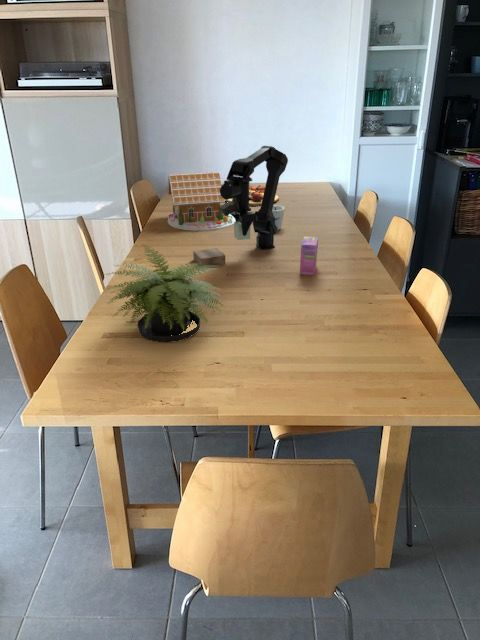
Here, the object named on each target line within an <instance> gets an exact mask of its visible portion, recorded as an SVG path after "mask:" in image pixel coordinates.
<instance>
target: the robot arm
mask: <svg viewBox="0 0 480 640" xmlns="http://www.w3.org/2000/svg"><path fill="white" fill-rule="evenodd" d="M264 162H265V163H266V164H265V168H266V171H267V178H266V182H265V186H264V187H265V190H264V195H263V199H262V204H261V206H260V208H259V209H258V211H257V210H256V211H252V208H251V206H249V201H251V198H250V197H249V185H250V182H252V181H253V179H252V177H250V176H251V175H252V174H254V172H255V169H256V167H258V166H260V165H261V164H262V163H264ZM288 162H289V159H288V156H287V155H286V154H285V153H284V152H282V151H280V150H278V149H276V148H275V147H274V146H271V145H262V146H261V148H260V149H257V150H256V151H255V152H253V153H252V154H250V155H248V156H247V157H245V158H244V157H243V158H238V159H235V160H233V162H232V163H231V166H230V168H229V171H228V174H227V177H226V180H223V183H222V186H221V188H220V194H221V196H222V198H224V199H226V200H228V199H231V198H232V201H230V202H228V203H227V202H225V203H222V205H221V204H220V205H221V206H220V209H221V211H222V214H224V216H228V215H229V214H231V215H232V216H233V217H234V218H235V221H236V222H238V221H239V222H240V223H241V227H242V233H243V236H246V234H247V232H248V230H249V228H250V229H251V226H253V230H254V231H253V232H254V233H257V235H256V241H255V242H256V243H255V246H257V247H258V248H259V249H260V250H266V249H267V250H268V249H274V248H276V245H274V241H275V240H274V239H275V235H276V234H278V230H277V229H278V228H277V226H276V225H275V224H274V215H273V212H272V209H273V205H274V204H275V203H274V200H275V195H277V191H278V185H279V181H280V177H281V176H282V174H283V173H284V172H285V170H286V168H287V165H288Z"/></svg>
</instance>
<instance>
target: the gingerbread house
mask: <svg viewBox="0 0 480 640" xmlns="http://www.w3.org/2000/svg"><path fill="white" fill-rule="evenodd" d="M222 185H223V181H222V176H221V172H220V171H214V172H213V171H211V172H209V171H208V172H207V171H206V172H199V173H198V172H194V173H193V172H191V173H175V174H172V173H171V174H168V175H167V189H166V190H167V191H166V192H167V193H166V194H167V195H168V196H171V198H172V199H171V201H172V214H168V216H167V224H168V225H169V226H171V227H172V228H175V229H178V230H179V229H180V230H186V231H197V232H198V231H203V232H204V231H214V230H220V229H224V228H225V227H226V228H229V227H231V226H233V225H234V222H236V221H235V218H234V217H233V216H232V215H231V214H229V215H228V216H224V214H222V211H221V209H220V206H221V204H224V203H226V202H225V200H226V199H224V198H222V196H221V194H220V188H221V186H222ZM232 224H233V225H232ZM230 225H231V226H230ZM228 226H229V227H228Z"/></svg>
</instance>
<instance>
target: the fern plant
mask: <svg viewBox="0 0 480 640" xmlns="http://www.w3.org/2000/svg"><path fill="white" fill-rule="evenodd" d="M142 247H144V256H146V257H147V258H146V260H147V262H148V263H152V264H154V265H151V264H150V266H151V267H152V268H155V269H153V270H152V269H150V268H147V267H146V266H144V265H141V264H137V263H134V264H133V263H131V262H130V263H125V264H124V263H122V264H117V265H115V264H114V265H113V266H114V267H123V268H127V269H129V270H126V269H125V270H122V271H120V270H118V271H117V272H116V271H114V272H113V271H111V273H110V272H109V273H104V274H103V275H107V276H108V275H111V274H114V275H119V276H122V275H124V277H126V276H130V275H131V277H132V278H134V277H137V279H136V280H135V279H134V280H130V281H129V282H128V281H124V283H120V284H114V285H113V288H114V289H115V288H116V289H117V288H118V289H117V290H114V291H111V292H110V293H115V292H118V293H116V294H115V296H113V297H112V298H110V299H109V301H107V304H112V302H116V300H120V299H125V297H126V299H127V298H129V299H128V300H129V301H125V302H124V303H125V304H123V305H121V306H120V307H121V308H119V309H117V312H115V313H114V315H112V316H111V317H112V318H113V317H115V316H118V313H121V312H124V311H125V312H124V315H123V316H122V317H123V318H124V317H125V316H128V314H130V311H133V312H132V316H130V319H131V320H130V323H129V325H128V326H131V324H134V322H136V320H137V318H139V317H140V316H142V315H143V314H144V315H143V316H142V317H141V318H139V320H138V322H137V329H138V333H139V334H141V335H140V336H141V337H142V336H143V337H142V338H144V339H146V340H147V339H148V341H151V340H152V342H155V341H158V342H157V343H173V342H172V341H176V342H180V341H179V340H181V341H183V340H182V339H184V340H186V339H185V338H187V339H189V338H188V337H190V336H191V335H193V334H195V333H196V332H197V331H198V330H199V331H200V329H199V328H200V327H201V321H202V320H204V321H205V322H206V323H208V318H207V317H206V316H205V314H204V312H203V311H202V308H201V306H203V305H204V306H205V307H206V308H209V309H211V310H214V311H215V310H217V311H219V312H220V313H222V311H221V309H220V308H218V306H217V305H220V306H222V307H225V305H224V304H222V303H225V304H227V303H226V302H225V300H224V299H221V298H219V297H217V296H220V297H221V295H220V294H219V293H218V292H216V291H214V290H216V289H217V290H220V291H222V289H221V288H219V287H217V286H214V285H213V283H211V284H210V283H208V282H206V281H203V280H199V279H198V280H197V279H196V278H194V277H196V276H198V275H202V274H203V273H206V272H209V271H213V270H217V268H215V267H217V266H215V265H214V266H210V265H209V266H210V267H208V266H207V267H206V265H205V266H204V265H203V266H201V265H200V266H201V267H200V266H199V265H198V264H197V263H196V262H195V263H188V264H187V263H185V264H184V265H183V264H181V265H180V266H178V267H176V266H175V267H173V266H170V264H167V263H168V260H166V261H165V259H166V258H165V255H163V254H162V253H159V250H155V249H154V248H151V247H150V246H147V245H145V244H144V243H143V245H142ZM145 253H146V254H145ZM162 256H163V257H162ZM166 264H167V265H166ZM140 271H141V272H140ZM193 278H194V279H193ZM110 289H111V287H108V288H107V290H110ZM130 297H131V298H130ZM216 306H217V307H216ZM192 320H193V321H195V323H196V324H197V327H196V328H194V329H193V330H191V331H189V332H187V333H183V334H181V333H182V332H183V331H186V329H187V328H188V327H187V326H188V325H189V327H190V324H191V322H192ZM192 324H193V323H192ZM199 331H198V332H199ZM198 332H197V333H198ZM197 333H196V334H197ZM179 334H180V335H179ZM196 334H195V335H196ZM171 335H172V336H171ZM193 336H194V335H193ZM191 337H192V336H191ZM191 337H190V338H191Z"/></svg>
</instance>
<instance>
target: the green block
mask: <svg viewBox="0 0 480 640" xmlns="http://www.w3.org/2000/svg"><path fill="white" fill-rule="evenodd" d="M233 235H234V236H233V237H234V238H235V239H236V240H237V241H241V240H249V239H251V227H250V228H249V230H248V232H247V234H246V236H243V233H242V227H241V223H240V222H239V221H238V222H234V224H233Z"/></svg>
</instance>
